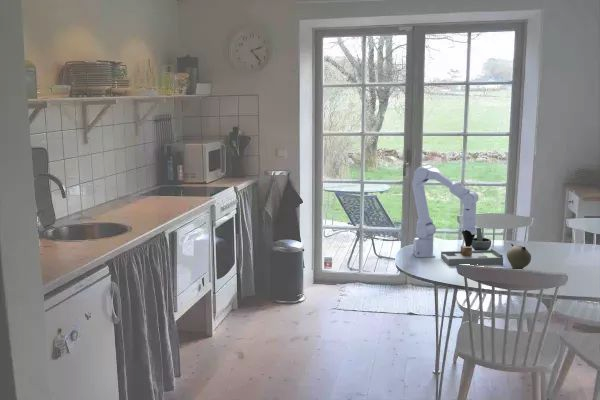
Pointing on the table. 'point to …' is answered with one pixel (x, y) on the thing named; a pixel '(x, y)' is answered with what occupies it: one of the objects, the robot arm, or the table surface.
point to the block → (466, 251)
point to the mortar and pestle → (480, 242)
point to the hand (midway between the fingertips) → (468, 246)
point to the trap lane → (473, 258)
